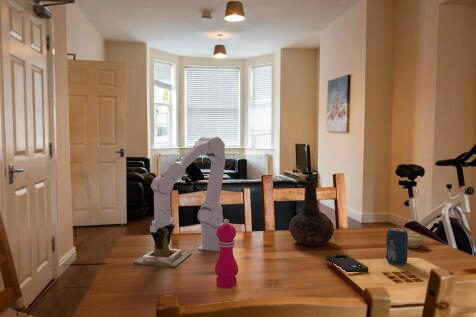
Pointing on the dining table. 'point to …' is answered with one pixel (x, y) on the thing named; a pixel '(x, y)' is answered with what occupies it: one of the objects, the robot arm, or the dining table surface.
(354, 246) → the dining table surface
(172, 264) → the collar board
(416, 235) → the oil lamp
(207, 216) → the robot arm
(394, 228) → the soda can
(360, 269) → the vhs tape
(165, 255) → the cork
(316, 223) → the dark bottle vase
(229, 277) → the pepper mill
